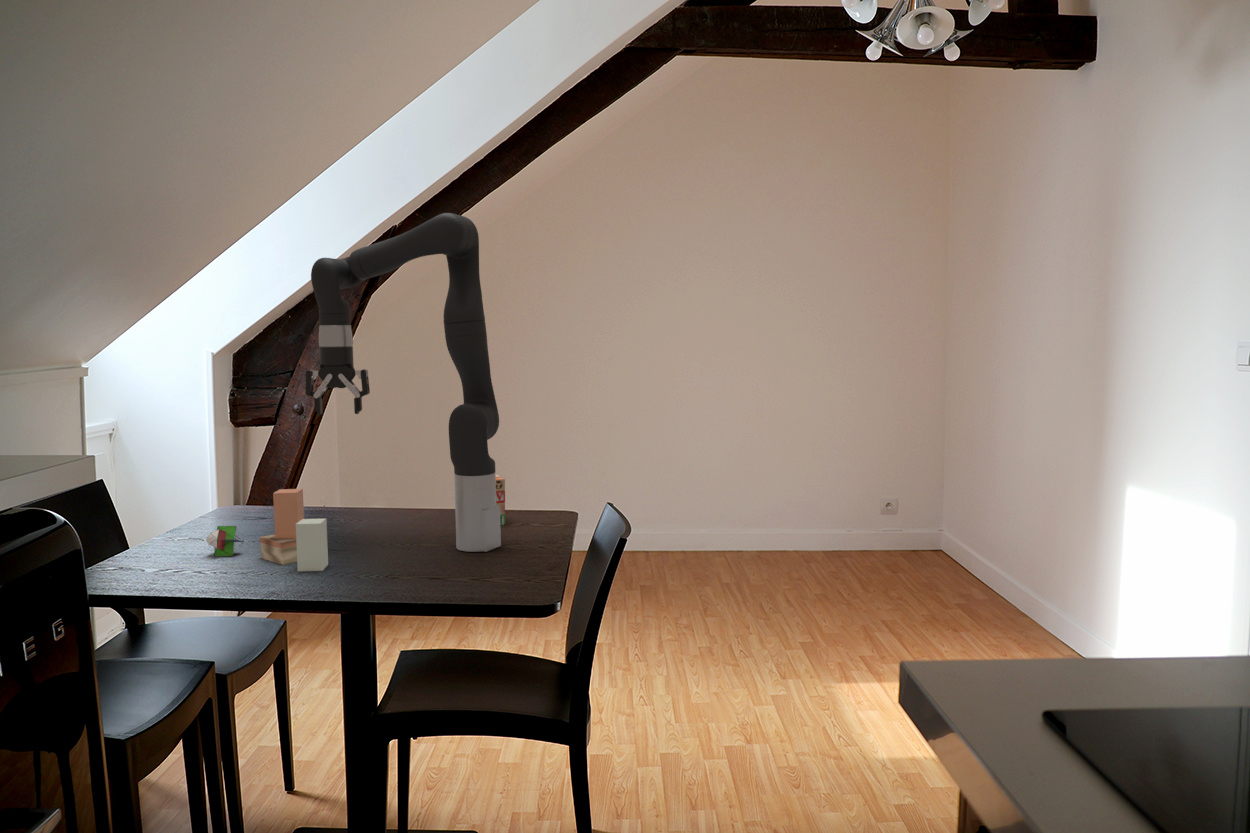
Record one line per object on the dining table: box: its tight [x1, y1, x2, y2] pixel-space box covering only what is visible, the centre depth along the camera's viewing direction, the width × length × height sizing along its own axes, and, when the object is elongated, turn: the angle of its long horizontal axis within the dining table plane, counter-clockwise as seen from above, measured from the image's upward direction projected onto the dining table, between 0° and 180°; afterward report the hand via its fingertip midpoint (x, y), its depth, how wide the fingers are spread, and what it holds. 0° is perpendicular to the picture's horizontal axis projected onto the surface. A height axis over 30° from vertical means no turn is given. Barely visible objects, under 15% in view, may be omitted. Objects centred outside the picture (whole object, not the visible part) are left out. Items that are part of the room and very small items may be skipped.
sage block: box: [296, 518, 329, 572], centre depth 192 cm, size 5×5×10 cm
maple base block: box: [259, 533, 297, 566], centre depth 201 cm, size 9×9×5 cm
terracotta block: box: [272, 488, 305, 539], centre depth 201 cm, size 5×5×10 cm
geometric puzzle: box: [205, 525, 245, 557], centre depth 204 cm, size 7×7×8 cm
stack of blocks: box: [496, 474, 506, 526], centre depth 240 cm, size 21×6×12 cm, turn 26°
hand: (338, 413), depth 215 cm, fingers open, 8 cm apart
